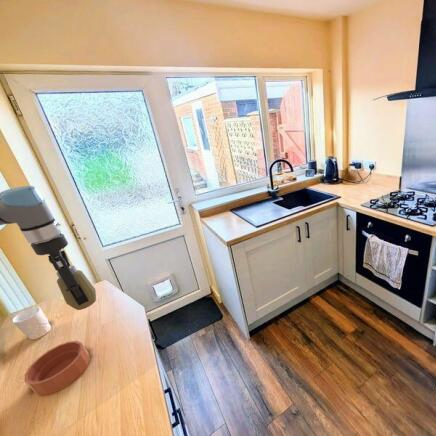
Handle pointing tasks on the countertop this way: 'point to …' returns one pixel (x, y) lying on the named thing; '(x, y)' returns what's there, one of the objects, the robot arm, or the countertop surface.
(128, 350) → the countertop surface
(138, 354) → the countertop surface
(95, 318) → the countertop surface
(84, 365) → the bowl
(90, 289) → the squeeze bottle
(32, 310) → the white cup
